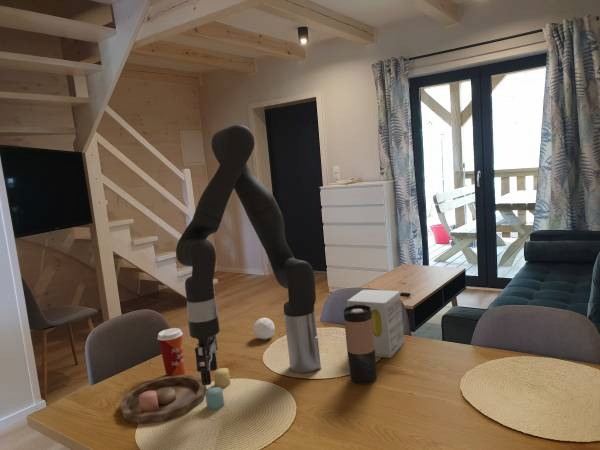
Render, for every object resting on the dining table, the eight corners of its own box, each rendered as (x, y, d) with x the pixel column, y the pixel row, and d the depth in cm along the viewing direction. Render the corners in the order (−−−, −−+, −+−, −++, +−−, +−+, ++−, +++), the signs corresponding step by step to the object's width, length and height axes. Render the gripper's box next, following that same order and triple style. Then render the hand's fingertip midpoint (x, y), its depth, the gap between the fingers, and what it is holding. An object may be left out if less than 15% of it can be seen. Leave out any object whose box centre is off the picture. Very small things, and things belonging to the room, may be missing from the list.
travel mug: (380, 373, 127) (374, 305, 125) (373, 386, 120) (366, 314, 118) (354, 371, 130) (348, 304, 128) (346, 383, 123) (339, 313, 121)
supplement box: (351, 353, 143) (345, 300, 141) (367, 338, 154) (362, 288, 152) (390, 358, 136) (385, 302, 134) (405, 342, 147) (400, 290, 145)
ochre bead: (231, 383, 131) (229, 367, 131) (229, 390, 127) (227, 373, 126) (216, 385, 131) (214, 368, 131) (214, 392, 127) (212, 375, 126)
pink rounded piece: (161, 407, 119) (158, 389, 119) (156, 416, 115) (153, 397, 114) (144, 409, 119) (141, 391, 119) (139, 418, 115) (136, 399, 114)
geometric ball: (260, 345, 166) (250, 326, 169) (279, 334, 167) (269, 315, 170) (258, 342, 159) (247, 322, 162) (278, 330, 160) (267, 311, 163)
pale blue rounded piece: (225, 404, 119) (223, 386, 119) (223, 413, 115) (220, 394, 114) (209, 406, 119) (206, 388, 119) (206, 414, 115) (203, 396, 114)
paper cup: (181, 379, 137) (175, 335, 136) (158, 380, 139) (152, 336, 137) (192, 368, 145) (186, 326, 143) (170, 368, 146) (164, 327, 145)
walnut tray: (212, 381, 134) (211, 371, 134) (196, 421, 112) (195, 410, 112) (138, 389, 134) (137, 379, 133) (109, 431, 112) (107, 420, 112)
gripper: (212, 323, 107) (220, 388, 109) (222, 306, 121) (228, 364, 123) (181, 326, 107) (189, 391, 109) (194, 309, 121) (201, 366, 123)
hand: (210, 376), depth 116 cm, fingers open, 8 cm apart
